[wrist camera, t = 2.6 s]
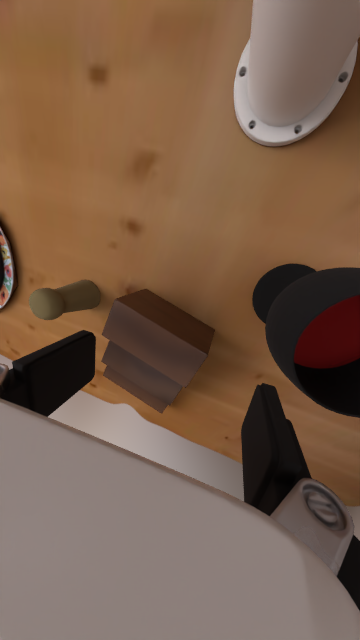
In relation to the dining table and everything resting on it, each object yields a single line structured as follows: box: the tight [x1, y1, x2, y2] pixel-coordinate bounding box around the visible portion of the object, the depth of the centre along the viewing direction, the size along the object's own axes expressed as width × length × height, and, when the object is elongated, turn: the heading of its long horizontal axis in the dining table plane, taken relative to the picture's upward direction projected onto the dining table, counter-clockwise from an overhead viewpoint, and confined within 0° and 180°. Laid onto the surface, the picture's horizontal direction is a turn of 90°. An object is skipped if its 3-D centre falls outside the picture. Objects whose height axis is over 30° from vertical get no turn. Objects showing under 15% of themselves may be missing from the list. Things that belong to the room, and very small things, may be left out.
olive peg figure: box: [29, 280, 100, 320], centre depth 35 cm, size 6×6×11 cm
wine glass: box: [253, 264, 360, 418], centre depth 21 cm, size 10×10×20 cm
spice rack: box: [101, 289, 215, 413], centre depth 35 cm, size 21×15×10 cm
